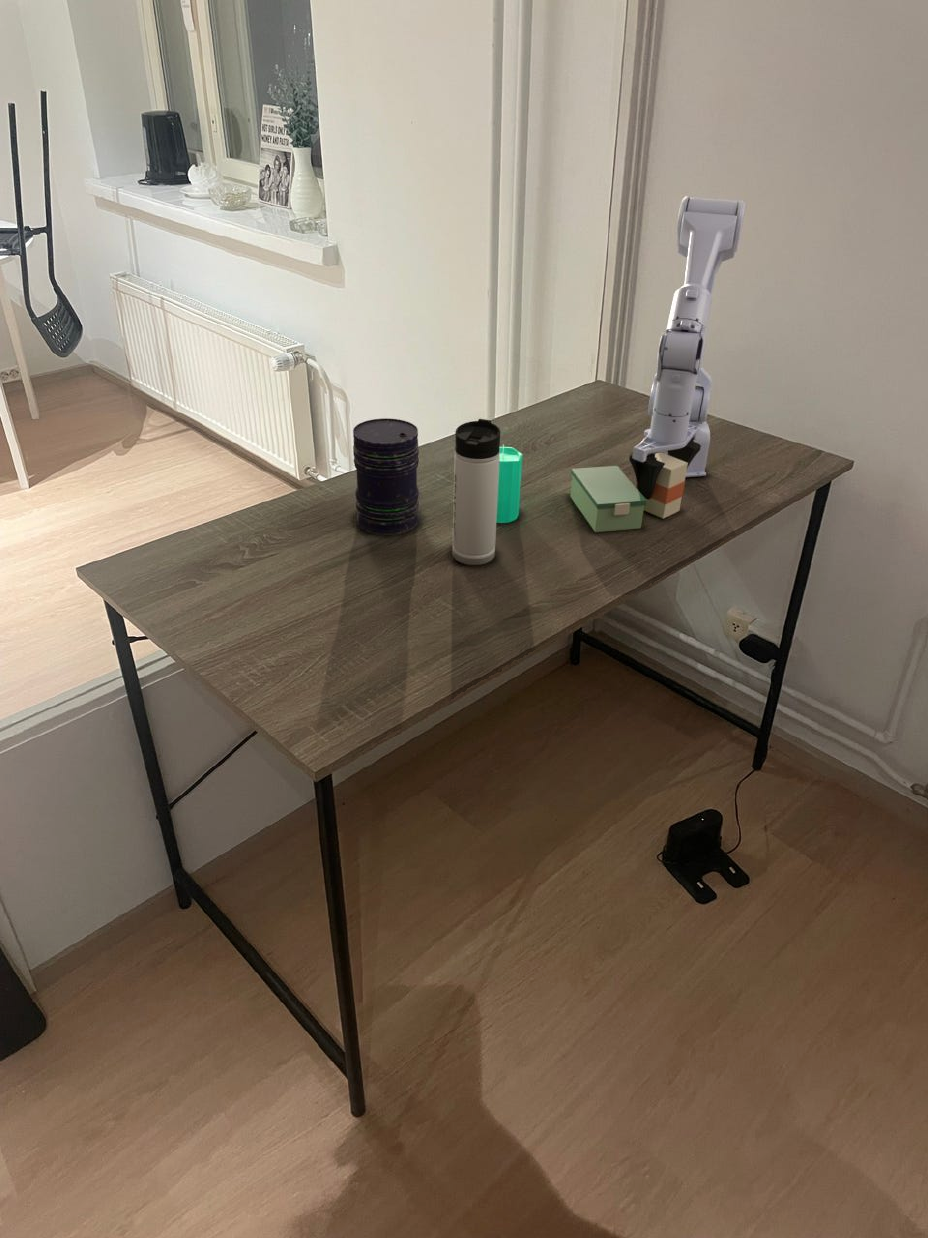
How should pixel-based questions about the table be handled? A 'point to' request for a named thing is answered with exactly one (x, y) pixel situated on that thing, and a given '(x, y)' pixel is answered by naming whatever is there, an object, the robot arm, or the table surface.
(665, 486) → the juice carton
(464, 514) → the travel mug
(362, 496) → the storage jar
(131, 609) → the table surface
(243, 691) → the table surface
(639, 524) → the lunchbox
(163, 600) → the table surface
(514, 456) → the candle
